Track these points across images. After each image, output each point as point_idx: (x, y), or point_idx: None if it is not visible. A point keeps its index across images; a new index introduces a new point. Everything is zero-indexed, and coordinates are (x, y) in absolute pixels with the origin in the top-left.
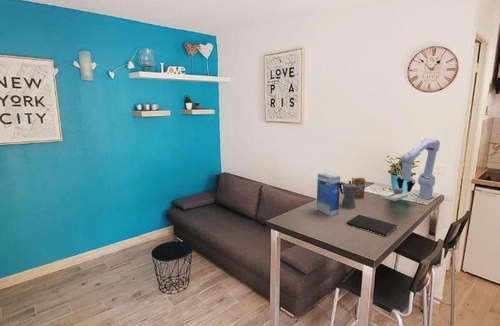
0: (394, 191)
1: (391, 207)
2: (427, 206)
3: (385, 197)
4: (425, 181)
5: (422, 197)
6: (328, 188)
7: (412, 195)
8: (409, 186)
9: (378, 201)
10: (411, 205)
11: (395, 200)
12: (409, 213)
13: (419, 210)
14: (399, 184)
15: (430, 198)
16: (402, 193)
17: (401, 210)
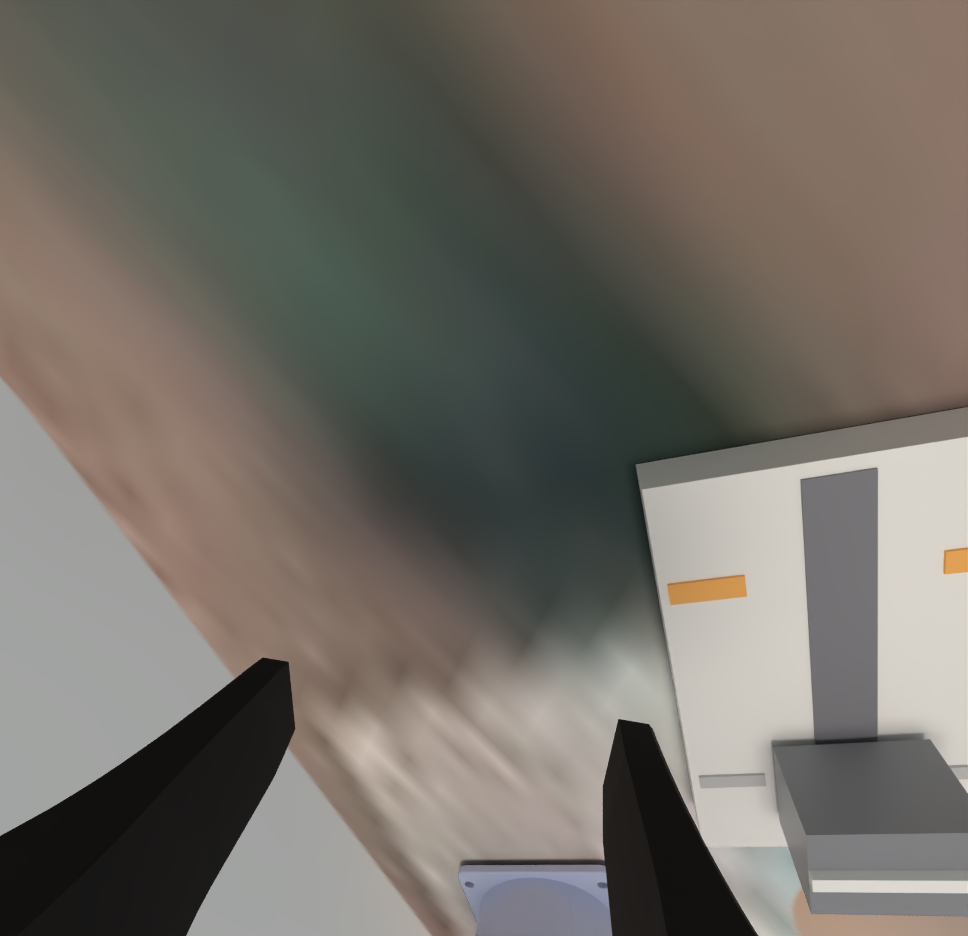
0: (923, 770)
1: (371, 28)
2: None
3: (904, 429)
4: None
5: (528, 882)
6: None
7: None
8: (41, 832)
9: (864, 46)
10: (351, 523)
11: (639, 469)
12: (4, 131)
13: (129, 437)
14: (651, 882)
15: (477, 916)
16: None
17: (165, 109)
